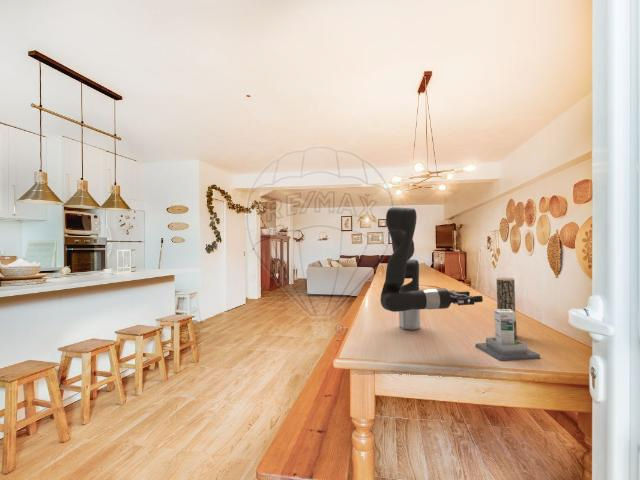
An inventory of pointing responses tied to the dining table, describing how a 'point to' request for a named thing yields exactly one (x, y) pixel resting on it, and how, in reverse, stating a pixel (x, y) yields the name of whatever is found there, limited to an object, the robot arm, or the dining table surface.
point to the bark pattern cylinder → (505, 293)
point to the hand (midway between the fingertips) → (475, 296)
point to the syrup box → (505, 326)
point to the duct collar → (507, 350)
